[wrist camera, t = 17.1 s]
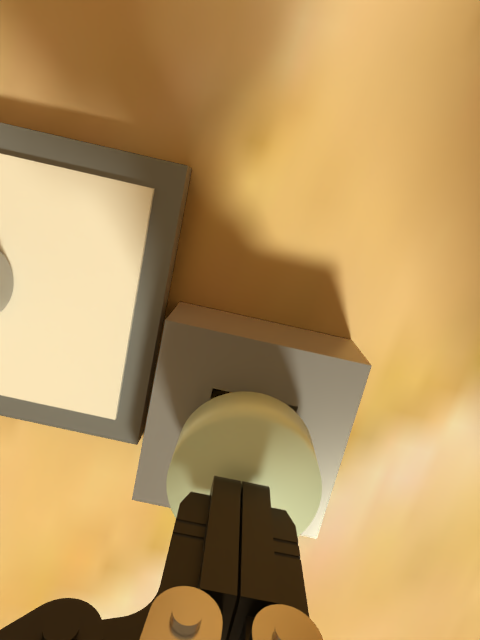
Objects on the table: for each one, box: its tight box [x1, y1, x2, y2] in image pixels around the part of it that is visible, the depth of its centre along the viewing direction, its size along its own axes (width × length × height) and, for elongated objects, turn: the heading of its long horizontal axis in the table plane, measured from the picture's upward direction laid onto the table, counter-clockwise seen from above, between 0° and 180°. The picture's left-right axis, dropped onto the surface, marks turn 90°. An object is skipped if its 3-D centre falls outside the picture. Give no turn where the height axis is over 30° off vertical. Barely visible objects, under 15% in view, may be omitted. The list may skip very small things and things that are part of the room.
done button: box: [166, 391, 322, 537], centre depth 14 cm, size 4×4×3 cm
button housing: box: [132, 302, 371, 539], centre depth 17 cm, size 7×7×3 cm
